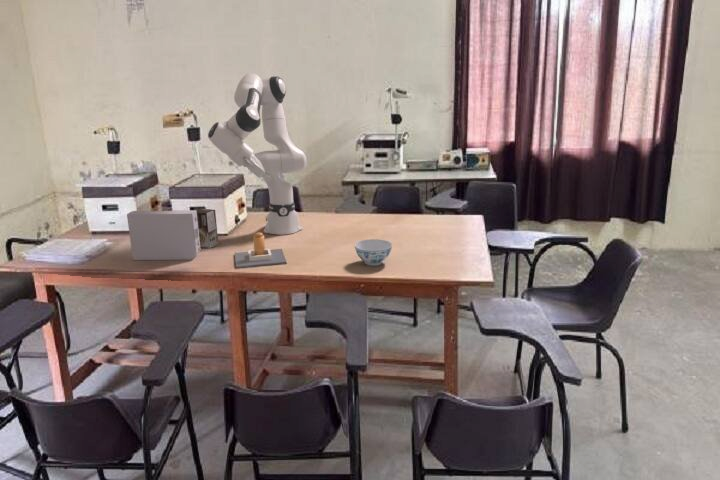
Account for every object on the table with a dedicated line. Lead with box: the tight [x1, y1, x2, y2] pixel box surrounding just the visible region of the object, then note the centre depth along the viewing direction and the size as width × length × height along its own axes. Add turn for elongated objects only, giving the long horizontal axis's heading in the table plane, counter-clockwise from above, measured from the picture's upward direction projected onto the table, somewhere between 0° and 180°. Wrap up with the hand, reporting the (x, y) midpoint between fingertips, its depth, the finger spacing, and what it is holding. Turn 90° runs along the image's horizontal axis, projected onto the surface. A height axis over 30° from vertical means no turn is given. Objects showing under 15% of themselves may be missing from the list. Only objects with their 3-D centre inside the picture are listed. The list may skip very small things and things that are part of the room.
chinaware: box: [354, 238, 393, 267], centre depth 236 cm, size 15×15×8 cm
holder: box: [234, 248, 288, 269], centre depth 244 cm, size 18×20×3 cm
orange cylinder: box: [253, 231, 266, 256], centre depth 243 cm, size 4×4×10 cm
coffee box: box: [195, 207, 219, 249], centre depth 263 cm, size 9×6×16 cm
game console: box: [126, 209, 201, 261], centre depth 246 cm, size 6×27×20 cm, turn 88°
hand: (269, 178), depth 242 cm, fingers open, 8 cm apart
